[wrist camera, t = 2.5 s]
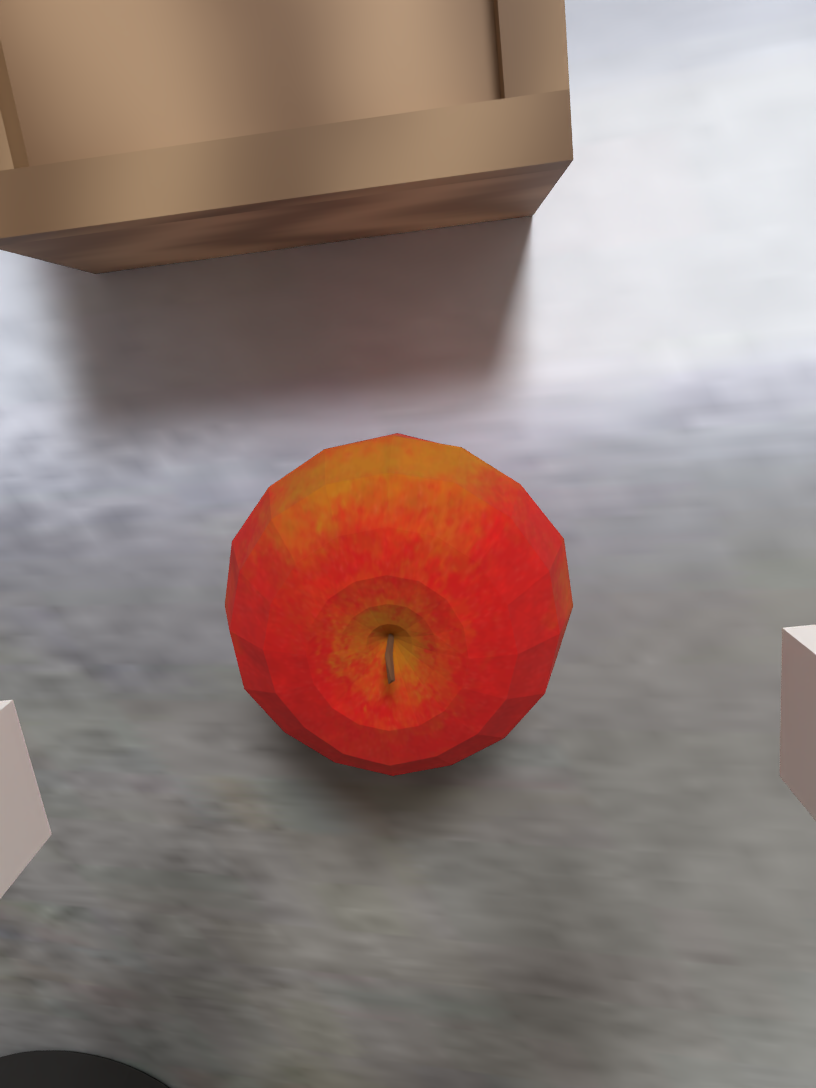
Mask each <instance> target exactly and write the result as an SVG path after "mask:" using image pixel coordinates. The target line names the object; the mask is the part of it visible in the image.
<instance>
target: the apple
mask: <svg viewBox="0 0 816 1088" xmlns="http://www.w3.org/2000/svg"><path fill="white" fill-rule="evenodd" d="M572 608H573V602H572V594H571V587H570V580H569V573H568V565H567V558H566V551H565V544H564V538H563V537H562V536H561V535H560V533H559V532H558V531H557V530H556V528H555V527H554V526H553V525H552V523H551V522H550V521H549V520H548V518H547V517H546V516H545V515H544V513H543V512H542V511H541V510H540V508H539V507H538V506H537V505H536V503H535V502H534V501H533V500H532V498H531V497H530V496H529V494H528V493H527V492H526V491H525V489H524V488H523V487H522V486H521V484H519V483H517V482H516V481H514V480H513V479H511V478H509V477H508V476H506V475H505V474H503V473H501V472H500V471H498V470H497V469H495V468H494V467H492V466H490V465H489V464H487V463H486V462H484V461H482V460H481V459H479V458H478V457H476V456H474V455H473V454H471V453H470V452H468V451H466V450H465V449H463V448H462V447H457V446H451V445H445V444H439V443H435V442H431V441H427V440H423V439H419V438H415V437H411V436H406V435H402V434H398V433H396V434H392V435H387V436H383V437H378V438H373V439H369V440H364V441H360V442H355V443H351V444H346V445H342V446H337V447H333V448H328V449H324V450H323V451H321V452H320V453H318V454H317V455H315V456H314V457H312V458H311V459H309V460H308V461H307V462H305V463H304V464H302V465H301V466H299V467H298V468H296V469H295V470H293V471H292V472H290V473H289V474H287V475H286V476H284V477H283V478H282V479H280V480H279V481H277V482H276V483H274V484H273V485H271V486H270V487H269V488H268V489H267V491H266V492H265V494H264V495H263V496H262V498H261V499H260V501H259V502H258V504H257V505H256V507H255V508H254V510H253V511H252V513H251V514H250V516H249V517H248V519H247V520H246V522H245V523H244V525H243V526H242V528H241V529H240V531H239V532H238V533H237V535H236V536H235V538H234V539H233V541H232V546H231V555H230V564H229V573H228V582H227V590H226V599H225V609H226V614H227V619H228V625H229V630H230V634H231V638H232V642H233V646H234V650H235V654H236V658H237V662H238V666H239V670H240V674H241V678H242V682H243V685H244V689H245V690H246V691H247V692H248V693H249V694H250V696H251V697H252V698H253V699H254V700H255V701H256V702H257V703H258V704H259V705H260V706H261V707H262V708H263V710H264V711H265V712H266V713H267V714H268V715H269V716H270V717H271V718H272V719H273V720H274V721H275V722H276V724H277V725H278V726H279V727H280V728H281V729H282V730H283V731H284V732H285V733H287V734H288V735H290V736H292V737H293V738H295V739H297V740H298V741H300V742H302V743H303V744H305V745H307V746H308V747H310V748H312V749H313V750H315V751H317V752H318V753H320V754H322V755H323V756H325V757H327V758H328V759H330V760H332V761H333V762H335V763H340V764H344V765H348V766H353V767H357V768H361V769H366V770H370V771H374V772H378V773H383V774H387V775H391V776H395V775H400V774H406V773H411V772H417V771H422V770H427V769H433V768H438V767H444V766H449V765H453V764H455V763H457V762H459V761H460V760H462V759H464V758H466V757H468V756H470V755H472V754H474V753H476V752H478V751H480V750H482V749H484V748H486V747H488V746H490V745H492V744H494V743H496V742H498V741H500V740H501V739H503V738H505V737H506V736H507V735H508V734H509V732H510V731H511V730H512V729H513V728H514V727H515V726H516V725H517V724H518V722H519V721H520V720H521V719H522V718H523V717H524V716H525V715H526V714H527V713H528V711H529V710H530V709H531V708H532V707H533V706H534V705H535V704H536V703H537V702H538V700H539V699H540V698H541V697H542V696H543V695H544V694H545V691H546V688H547V685H548V682H549V679H550V676H551V673H552V670H553V667H554V664H555V661H556V658H557V655H558V651H559V648H560V645H561V642H562V639H563V636H564V633H565V630H566V626H567V623H568V620H569V617H570V614H571V611H572Z"/></svg>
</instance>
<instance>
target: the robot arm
mask: <svg viewBox="0 0 816 1088" xmlns="http://www.w3.org/2000/svg"><path fill="white" fill-rule="evenodd" d="M780 777H781V778H782V780H783V781H784V782H785V783H786V785H787V786H788V787H789V788H790V790H791V791H792V792H793V793H794V795H795V796H796V797H797V798H798V799H799V801H800V802H801V803H802V804H803V806H804V807H805V808H806V809H807V811H808V812H809V813H810V814H811V816H812V817H813V818H814V819H815V820H816V625H807V626H797V627H786V628H782V675H781V732H780ZM51 835H52V833H51V830H50V826H49V823H48V819H47V816H46V813H45V809H44V806H43V802H42V799H41V795H40V792H39V788H38V785H37V781H36V778H35V774H34V771H33V767H32V764H31V761H30V757H29V754H28V750H27V747H26V743H25V740H24V736H23V733H22V729H21V726H20V722H19V719H18V716H17V712H16V709H15V705H14V702H13V700H6V701H0V898H1V897H2V896H3V895H4V893H5V892H6V891H7V890H8V888H9V887H10V886H11V885H12V883H13V882H14V881H15V880H16V878H17V877H18V876H19V875H20V873H21V872H22V871H23V870H24V868H25V867H26V866H27V865H28V863H29V862H30V861H31V860H32V858H33V857H34V856H35V855H36V853H37V852H38V851H39V850H40V848H41V847H42V846H43V845H44V843H45V842H46V841H47V840H48V838H49V837H50V836H51ZM0 1088H168V1087H166V1086H165V1085H163V1084H162V1083H160V1082H159V1081H157V1080H155V1079H154V1078H152V1077H150V1076H148V1075H146V1074H144V1073H142V1072H140V1071H138V1070H136V1069H134V1068H131V1067H129V1066H126V1065H124V1064H121V1063H118V1062H115V1061H112V1060H109V1059H105V1058H101V1057H97V1056H93V1055H88V1054H82V1053H75V1052H64V1051H34V1052H24V1053H18V1054H13V1055H8V1056H4V1057H0Z"/></svg>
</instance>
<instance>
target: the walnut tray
mask: <svg viewBox="0 0 816 1088" xmlns="http://www.w3.org/2000/svg"><path fill="white" fill-rule="evenodd" d="M572 161H573V146H572V128H571V110H570V92H569V74H568V56H567V38H566V20H565V2H564V0H0V250H4V251H8V252H12V253H16V254H20V255H24V256H28V257H32V258H36V259H39V260H43V261H47V262H51V263H55V264H59V265H63V266H67V267H71V268H75V269H79V270H82V271H86V272H90V273H94V274H98V273H105V272H113V271H120V270H128V269H135V268H143V267H150V266H158V265H165V264H173V263H180V262H188V261H195V260H203V259H210V258H218V257H225V256H233V255H240V254H247V253H255V252H262V251H270V250H277V249H285V248H292V247H300V246H307V245H315V244H322V243H330V242H337V241H345V240H352V239H360V238H367V237H375V236H382V235H390V234H397V233H405V232H412V231H420V230H427V229H435V228H442V227H450V226H457V225H465V224H472V223H480V222H487V221H495V220H502V219H510V218H517V217H525V216H532V215H534V213H535V212H536V210H537V209H538V208H539V206H540V205H541V203H542V202H543V201H544V199H545V198H546V197H547V195H548V194H549V192H550V191H551V190H552V188H553V187H554V185H555V184H556V183H557V181H558V180H559V179H560V177H561V176H562V174H563V173H564V172H565V170H566V169H567V167H568V166H569V165H570V163H571V162H572Z"/></svg>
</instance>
